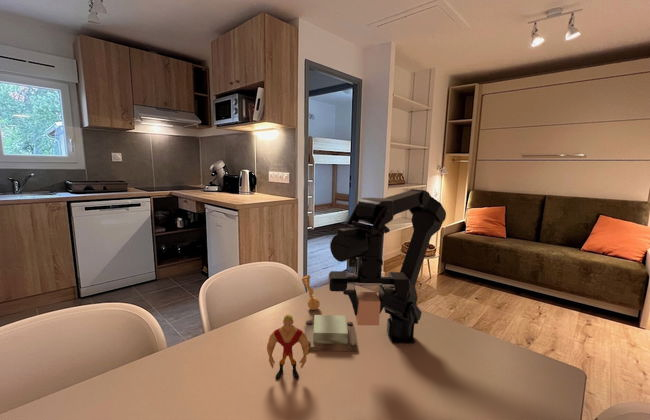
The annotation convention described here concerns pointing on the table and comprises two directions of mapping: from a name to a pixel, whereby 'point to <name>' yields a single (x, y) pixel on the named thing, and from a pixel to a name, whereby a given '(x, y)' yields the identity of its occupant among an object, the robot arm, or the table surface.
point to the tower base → (332, 346)
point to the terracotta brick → (368, 308)
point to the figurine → (312, 302)
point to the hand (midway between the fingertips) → (366, 314)
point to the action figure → (287, 344)
